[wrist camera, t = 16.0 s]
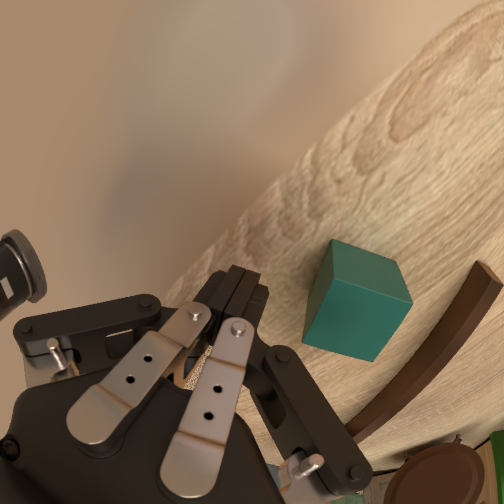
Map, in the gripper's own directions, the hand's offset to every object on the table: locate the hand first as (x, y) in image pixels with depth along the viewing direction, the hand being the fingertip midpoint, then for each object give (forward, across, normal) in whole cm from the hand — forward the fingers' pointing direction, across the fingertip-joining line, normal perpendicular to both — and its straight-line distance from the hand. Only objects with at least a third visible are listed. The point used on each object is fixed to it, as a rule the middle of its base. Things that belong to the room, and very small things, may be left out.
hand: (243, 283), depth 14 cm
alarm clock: (+4, -32, +21) cm, 39 cm away
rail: (+4, -15, +20) cm, 25 cm away
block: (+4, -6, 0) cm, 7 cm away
